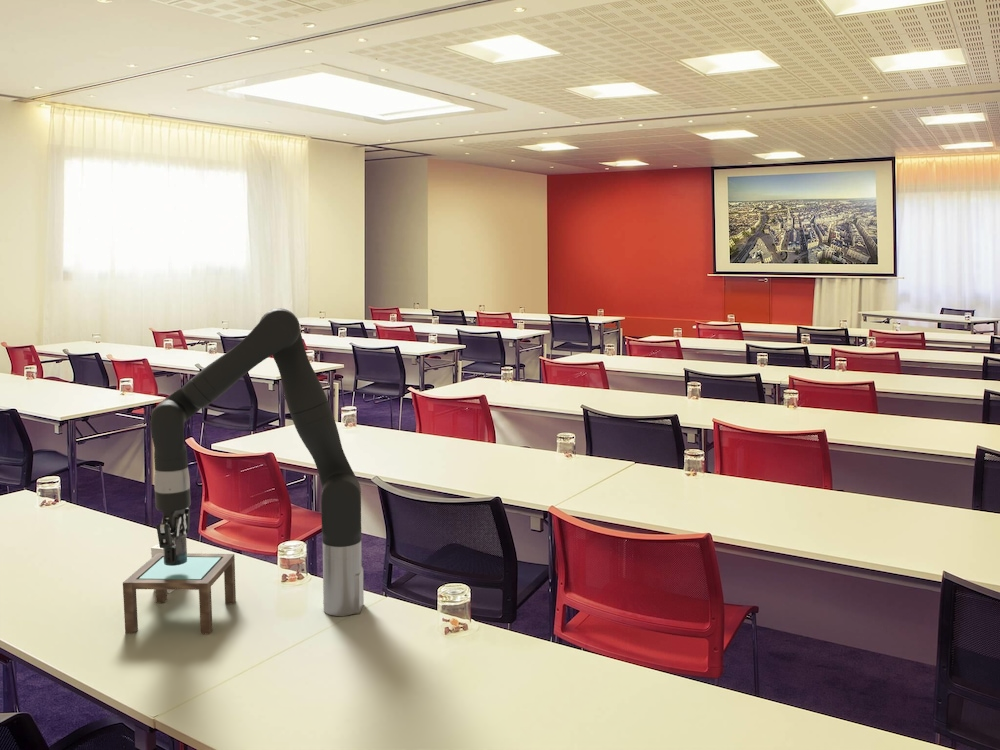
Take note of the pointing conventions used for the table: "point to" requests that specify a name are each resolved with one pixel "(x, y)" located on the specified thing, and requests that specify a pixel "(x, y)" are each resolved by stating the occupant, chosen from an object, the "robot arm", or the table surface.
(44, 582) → the table surface
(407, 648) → the table surface
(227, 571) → the miniature wooden table
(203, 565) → the trapdoor
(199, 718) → the table surface
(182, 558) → the cylinder
